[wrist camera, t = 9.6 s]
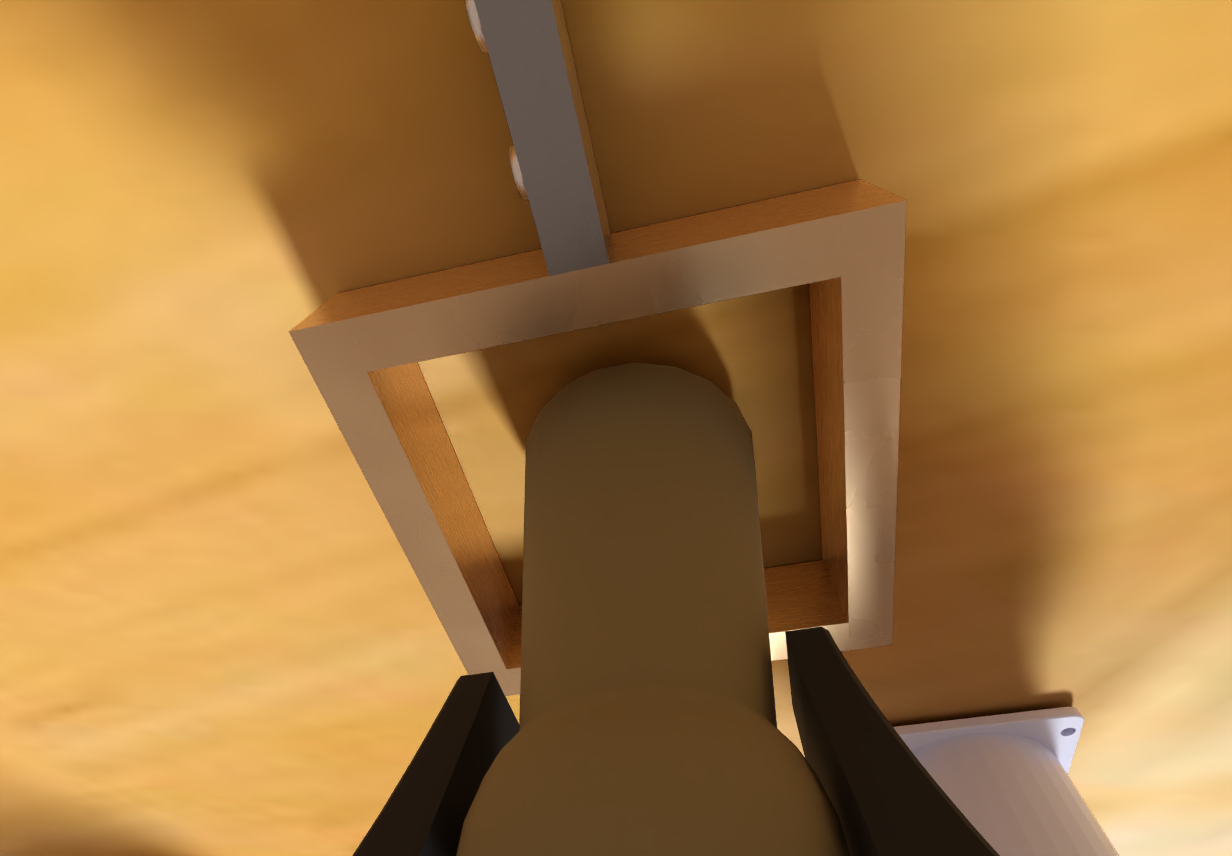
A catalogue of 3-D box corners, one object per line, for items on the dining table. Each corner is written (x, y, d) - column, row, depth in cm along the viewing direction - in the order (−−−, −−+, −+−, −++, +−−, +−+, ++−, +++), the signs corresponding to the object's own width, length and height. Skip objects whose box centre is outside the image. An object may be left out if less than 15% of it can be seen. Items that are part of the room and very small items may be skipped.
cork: (485, 489, 16) (299, 1076, 7) (604, 315, 14) (555, 907, 4) (665, 577, 18) (706, 1139, 9) (803, 438, 15) (1076, 1049, 6)
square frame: (862, 695, 22) (888, 762, 20) (542, 735, 24) (534, 801, 22) (857, -191, 10) (921, -262, 8) (200, -3, 12) (104, -20, 9)
